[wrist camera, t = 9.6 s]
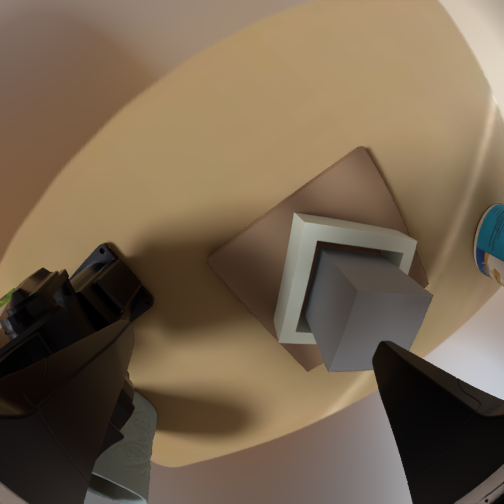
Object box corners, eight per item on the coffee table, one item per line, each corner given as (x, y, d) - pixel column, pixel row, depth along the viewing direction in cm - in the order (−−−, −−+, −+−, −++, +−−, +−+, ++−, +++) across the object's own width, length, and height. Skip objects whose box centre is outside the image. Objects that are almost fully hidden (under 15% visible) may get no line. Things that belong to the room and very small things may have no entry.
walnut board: (305, 364, 24) (307, 371, 23) (207, 257, 20) (206, 261, 19) (423, 279, 22) (428, 284, 21) (357, 146, 18) (363, 146, 17)
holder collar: (367, 324, 22) (381, 343, 19) (273, 320, 21) (278, 342, 18) (396, 230, 19) (417, 241, 16) (294, 212, 19) (304, 222, 16)
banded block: (355, 305, 21) (400, 367, 14) (299, 302, 21) (328, 372, 13) (372, 248, 20) (432, 295, 12) (313, 240, 19) (357, 290, 12)
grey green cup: (147, 380, 24) (118, 477, 13) (175, 433, 28) (163, 512, 16) (73, 375, 24) (33, 450, 13) (108, 426, 27) (85, 494, 16)
